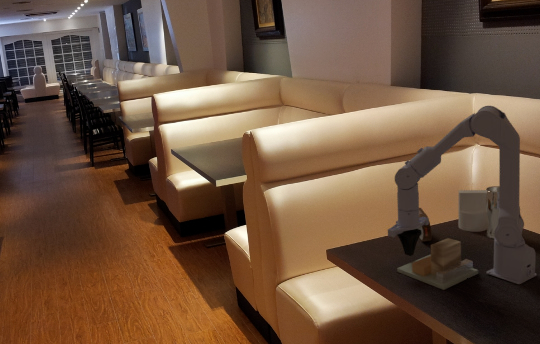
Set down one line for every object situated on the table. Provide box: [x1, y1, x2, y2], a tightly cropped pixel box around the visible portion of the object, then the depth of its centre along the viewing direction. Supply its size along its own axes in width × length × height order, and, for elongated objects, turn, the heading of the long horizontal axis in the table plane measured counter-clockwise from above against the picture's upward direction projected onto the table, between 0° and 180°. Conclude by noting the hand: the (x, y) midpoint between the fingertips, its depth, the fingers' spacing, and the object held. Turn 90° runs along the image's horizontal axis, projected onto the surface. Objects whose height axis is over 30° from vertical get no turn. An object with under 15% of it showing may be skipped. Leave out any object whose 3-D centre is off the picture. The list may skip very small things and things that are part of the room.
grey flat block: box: [396, 253, 479, 291], centre depth 148 cm, size 16×14×4 cm
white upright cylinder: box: [458, 189, 488, 233], centre depth 178 cm, size 9×9×12 cm
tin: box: [418, 207, 432, 243], centre depth 174 cm, size 15×3×8 cm, turn 179°
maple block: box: [430, 237, 462, 275], centre depth 145 cm, size 4×7×8 cm, turn 125°
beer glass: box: [485, 185, 499, 240], centre depth 169 cm, size 7×7×15 cm
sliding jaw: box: [412, 256, 431, 276], centre depth 149 cm, size 4×12×2 cm, turn 125°
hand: (409, 254), depth 155 cm, fingers closed
